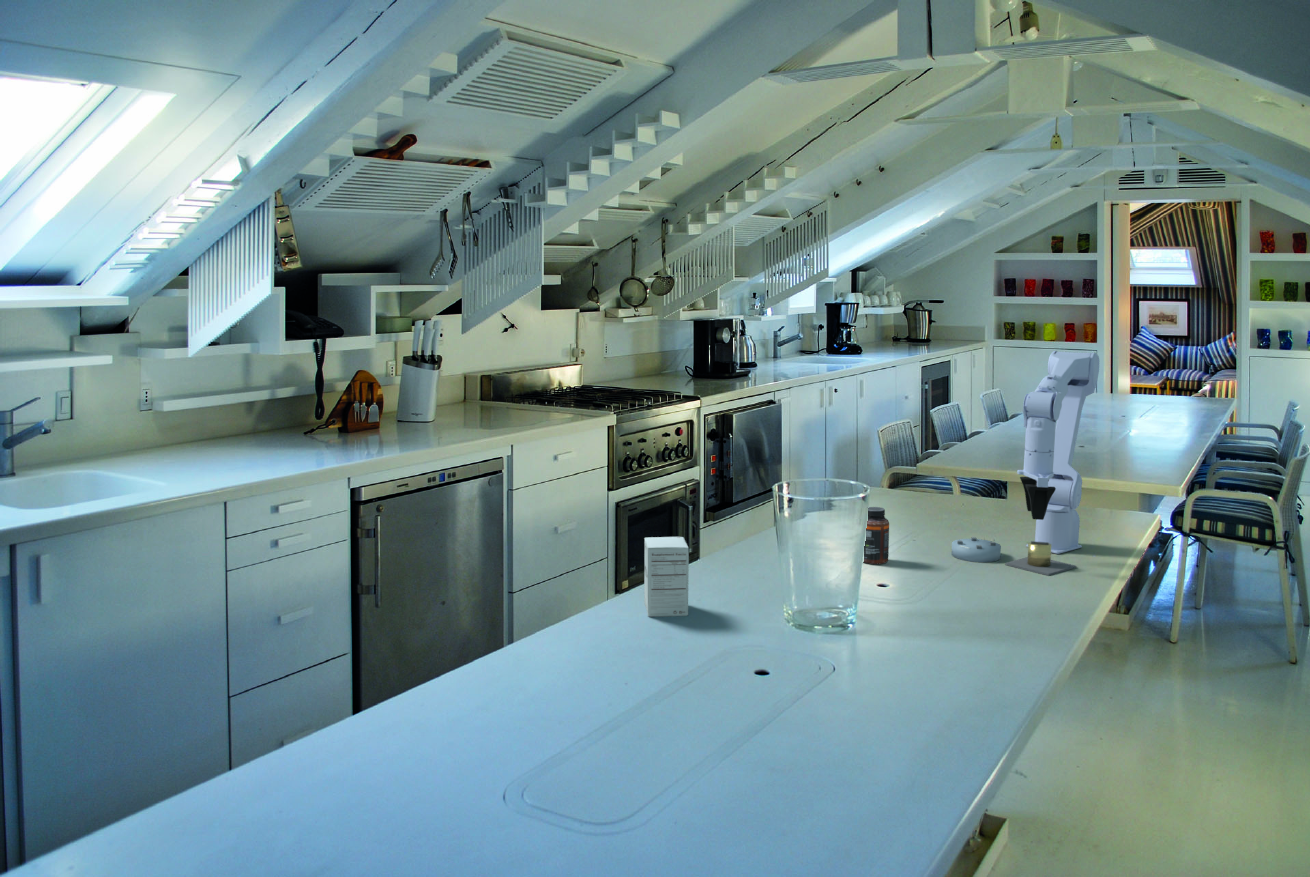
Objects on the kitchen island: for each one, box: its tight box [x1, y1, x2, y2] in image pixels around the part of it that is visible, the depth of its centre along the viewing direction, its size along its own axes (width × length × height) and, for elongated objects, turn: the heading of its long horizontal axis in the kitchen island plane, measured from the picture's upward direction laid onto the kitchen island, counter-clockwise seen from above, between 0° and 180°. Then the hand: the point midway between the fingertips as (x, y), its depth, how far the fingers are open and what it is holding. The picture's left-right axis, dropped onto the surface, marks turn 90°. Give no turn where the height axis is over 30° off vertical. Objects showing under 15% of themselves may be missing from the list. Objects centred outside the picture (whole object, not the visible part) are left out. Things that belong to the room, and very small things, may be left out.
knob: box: [1027, 540, 1052, 567], centre depth 218 cm, size 4×4×5 cm
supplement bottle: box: [863, 506, 890, 565], centre depth 221 cm, size 6×6×11 cm
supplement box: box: [643, 536, 690, 618], centre depth 188 cm, size 7×7×13 cm
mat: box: [1004, 556, 1077, 577], centre depth 218 cm, size 10×10×1 cm
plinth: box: [951, 536, 1002, 563], centre depth 226 cm, size 10×10×3 cm
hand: (1035, 515), depth 219 cm, fingers open, 7 cm apart
